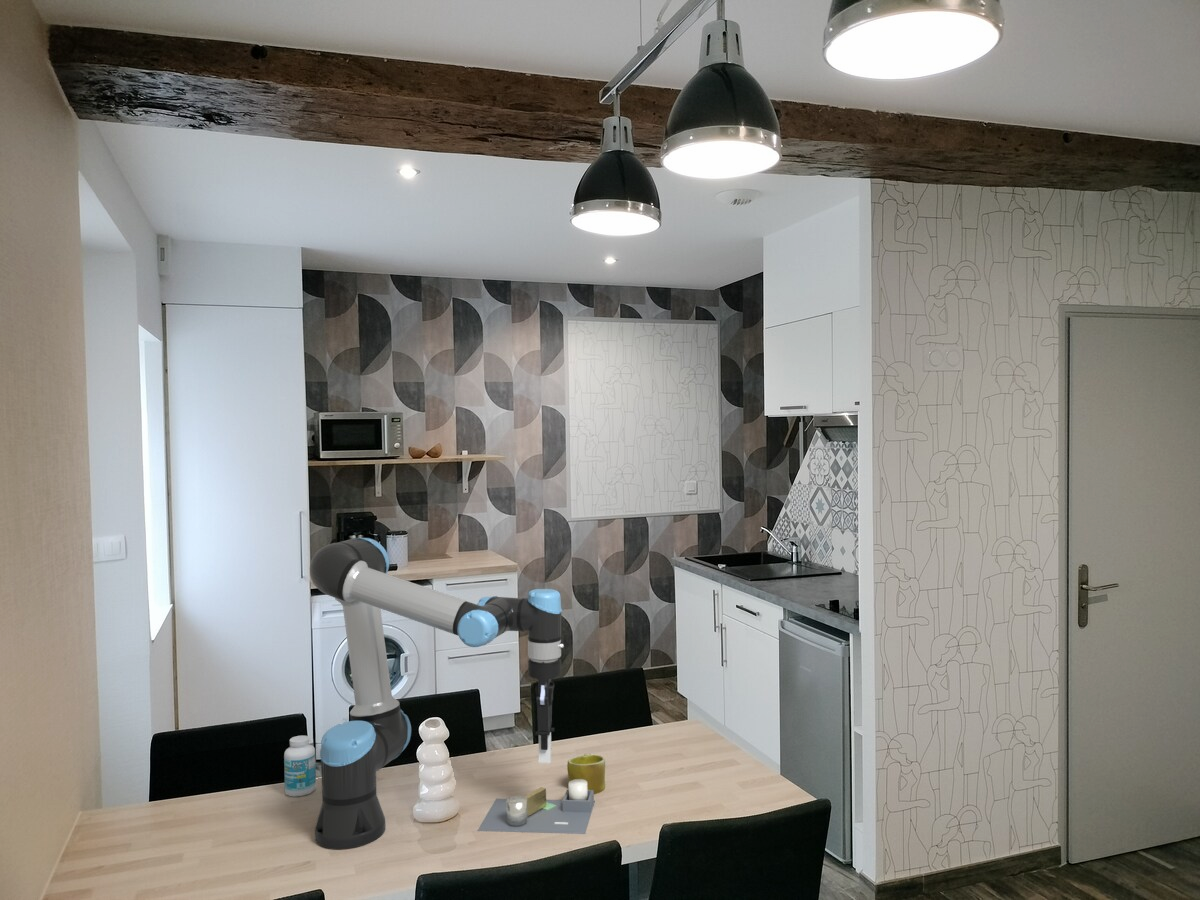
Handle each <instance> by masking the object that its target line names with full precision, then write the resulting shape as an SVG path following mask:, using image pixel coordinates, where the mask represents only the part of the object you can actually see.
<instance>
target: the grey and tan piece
mask: <svg viewBox="0 0 1200 900" xmlns="http://www.w3.org/2000/svg"><path fill="white" fill-rule="evenodd" d="M506 799H507V800H506V802H507V823H508V824H509V825H512V826H520V825H523V824H525V823H527V821H528V816H529V815H531V814H533V813H535V812H536V811H538V810H540V809H541V808H543V807H545V806H546V800H547V788H546V787H539V788H537V789H536V790H534V791H532V792H529V793H528V794H526V795H513V796H510V797H508V798H506Z"/></svg>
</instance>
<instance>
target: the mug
mask: <svg viewBox="0 0 1200 900" xmlns="http://www.w3.org/2000/svg"><path fill="white" fill-rule="evenodd" d="M566 766H567V768H566V769H567V777H568V783H569V782H570V781H571V780H574V779H583V780H586V781H587V790H594V795H597V794H600V793H602V792H604V791H605V789H606V761H605V758H604V757H603V756H601V755H598V754H597V755H596V754H592V753H584V754H583V755H580V756H579V755H578V756H573V757H571V758H569V759H567V765H566Z"/></svg>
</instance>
